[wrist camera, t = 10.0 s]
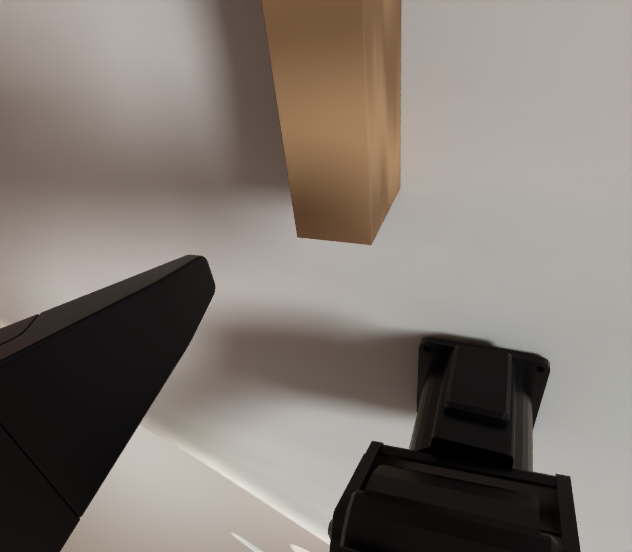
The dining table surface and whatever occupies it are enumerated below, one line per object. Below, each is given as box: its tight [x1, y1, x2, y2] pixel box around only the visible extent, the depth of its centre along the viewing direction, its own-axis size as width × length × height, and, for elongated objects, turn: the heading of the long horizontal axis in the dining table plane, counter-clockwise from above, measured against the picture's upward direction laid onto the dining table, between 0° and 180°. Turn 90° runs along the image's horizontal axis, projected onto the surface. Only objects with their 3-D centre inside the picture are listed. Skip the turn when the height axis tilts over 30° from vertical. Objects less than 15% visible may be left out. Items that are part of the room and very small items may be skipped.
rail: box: [262, 0, 401, 245], centre depth 15 cm, size 14×3×5 cm, turn 7°
